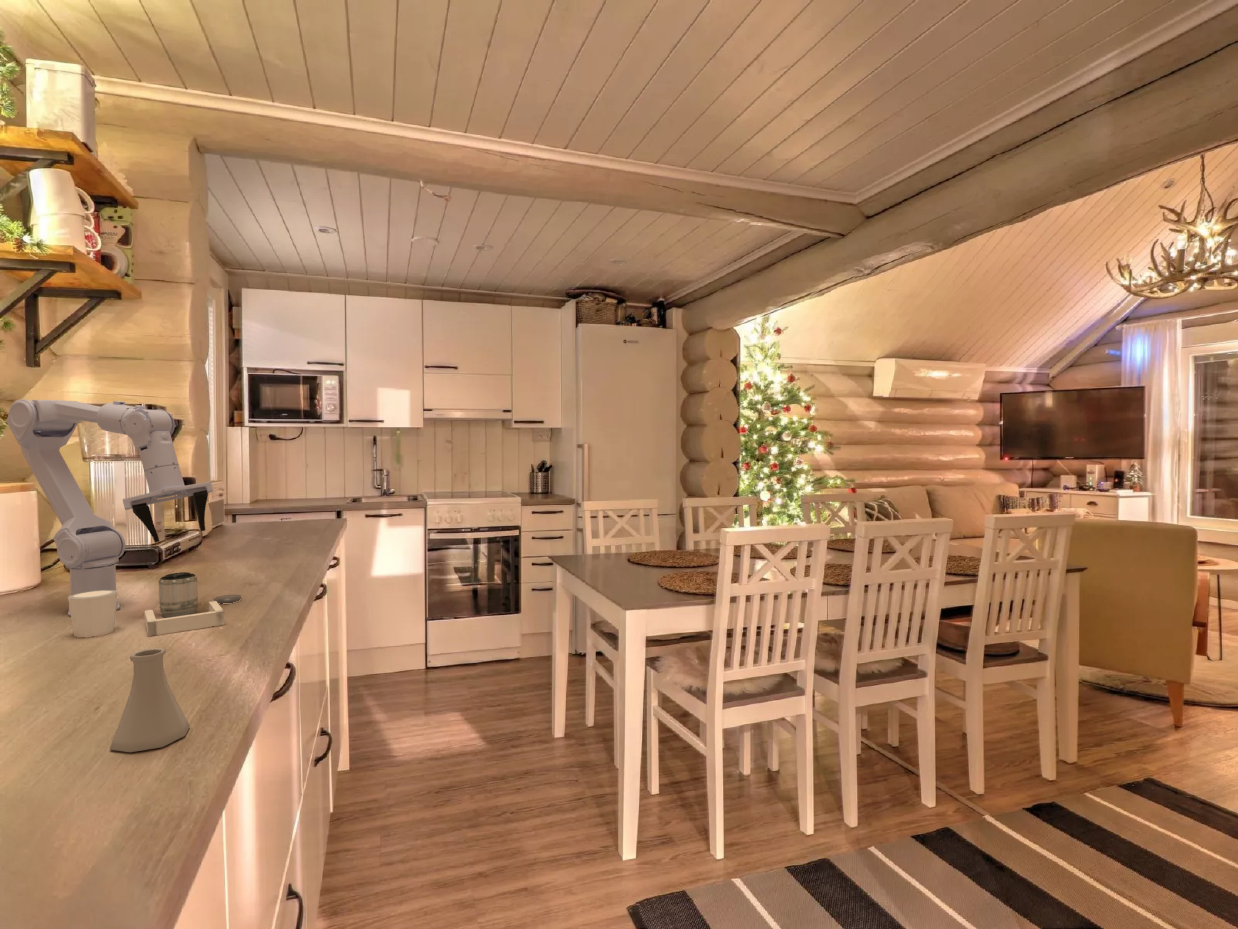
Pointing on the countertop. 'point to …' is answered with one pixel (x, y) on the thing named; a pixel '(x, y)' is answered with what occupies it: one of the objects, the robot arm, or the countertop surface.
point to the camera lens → (178, 594)
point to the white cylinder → (93, 612)
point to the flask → (149, 707)
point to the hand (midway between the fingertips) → (180, 536)
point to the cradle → (184, 621)
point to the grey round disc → (227, 599)
